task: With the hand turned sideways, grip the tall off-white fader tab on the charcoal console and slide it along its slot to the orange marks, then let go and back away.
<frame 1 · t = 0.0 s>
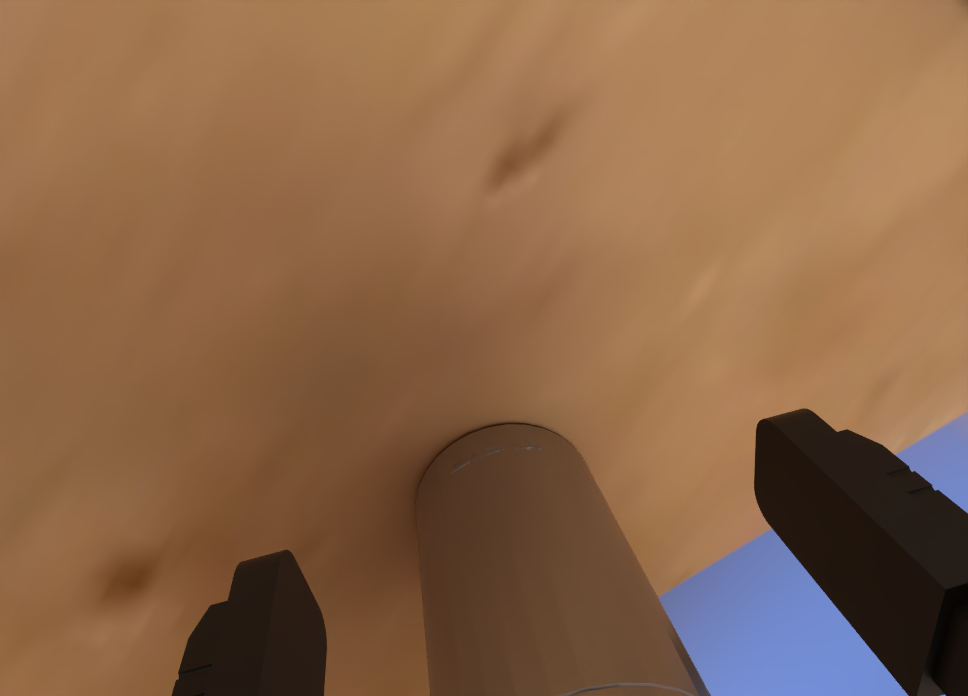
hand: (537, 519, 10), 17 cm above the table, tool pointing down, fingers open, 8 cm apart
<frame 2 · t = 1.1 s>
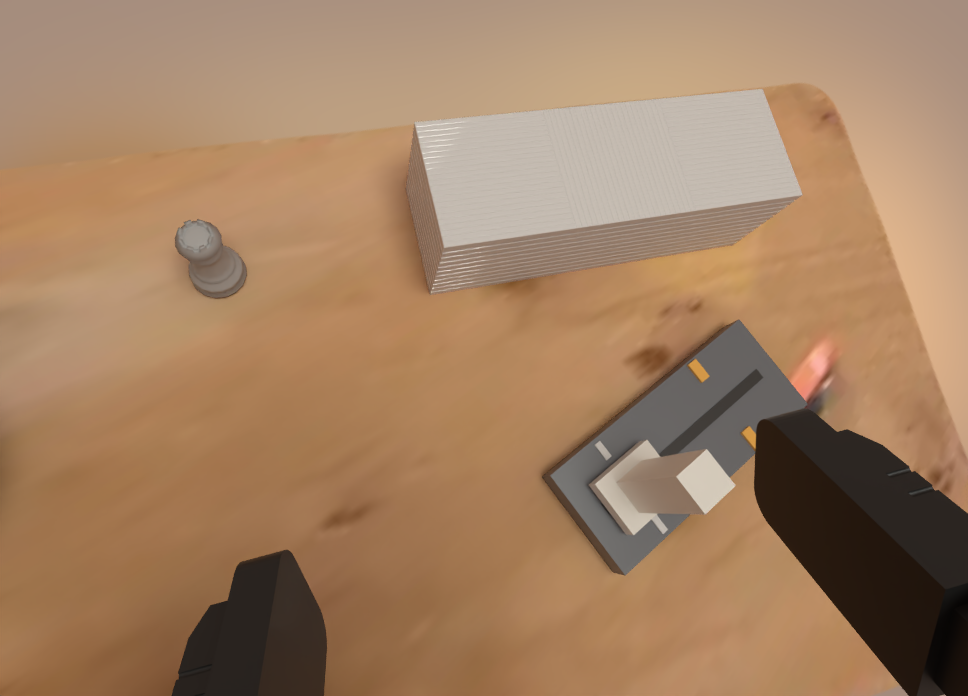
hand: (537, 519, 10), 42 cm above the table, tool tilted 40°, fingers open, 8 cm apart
stack of papers: (575, 220, 60), on the table
fader tab: (665, 484, 45), point 9 cm above the table, slide at 0.0 cm
rook chess piece: (220, 275, 52), on the table
fader console: (672, 440, 56), on the table
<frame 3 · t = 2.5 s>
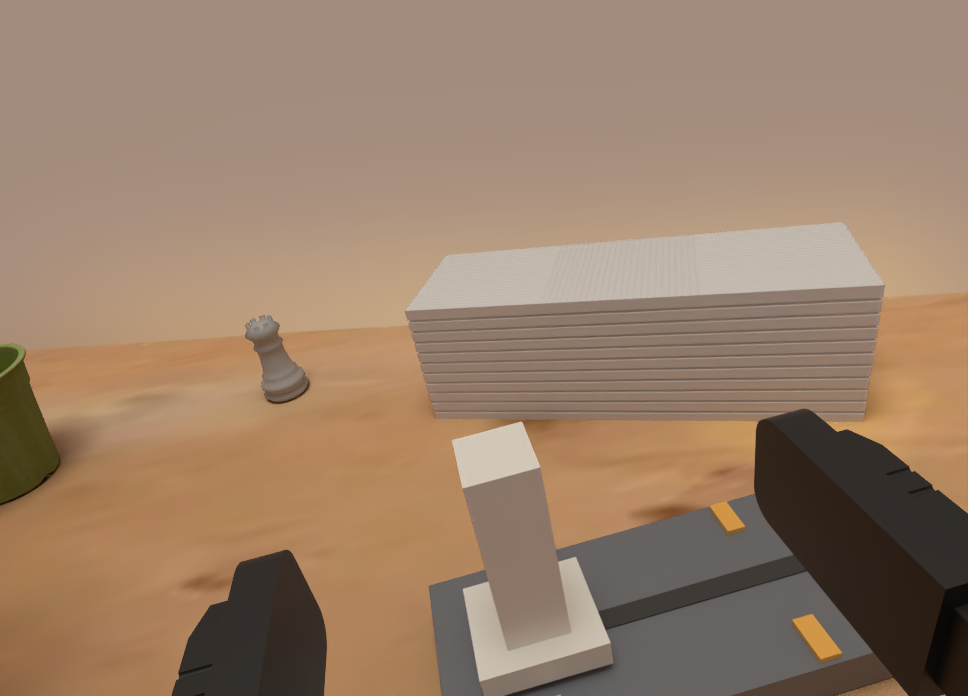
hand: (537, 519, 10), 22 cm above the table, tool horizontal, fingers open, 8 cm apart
stack of papers: (631, 385, 51), on the table
fader tab: (517, 552, 27), point 9 cm above the table, slide at 0.0 cm
plant pot: (21, 480, 56), on the table
rook chess piece: (288, 392, 61), on the table
fader console: (674, 631, 31), on the table
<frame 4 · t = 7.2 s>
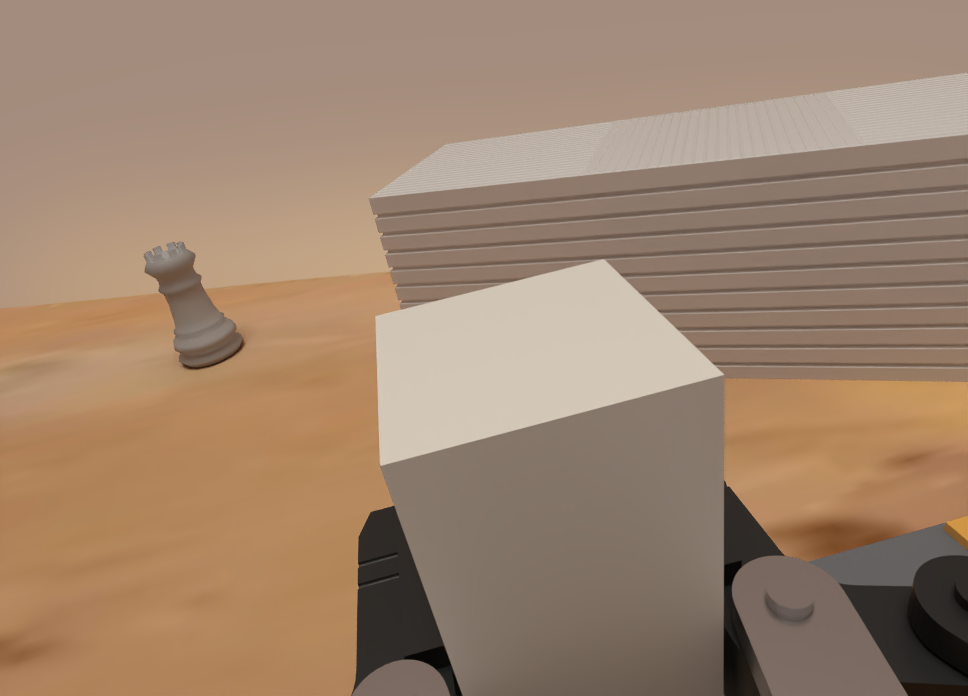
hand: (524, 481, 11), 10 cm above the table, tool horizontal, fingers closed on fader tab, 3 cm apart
stack of papers: (713, 331, 34), on the table
fader tab: (578, 666, 9), point 9 cm above the table, slide at 0.0 cm, touching gripper
rook chess piece: (214, 355, 43), on the table
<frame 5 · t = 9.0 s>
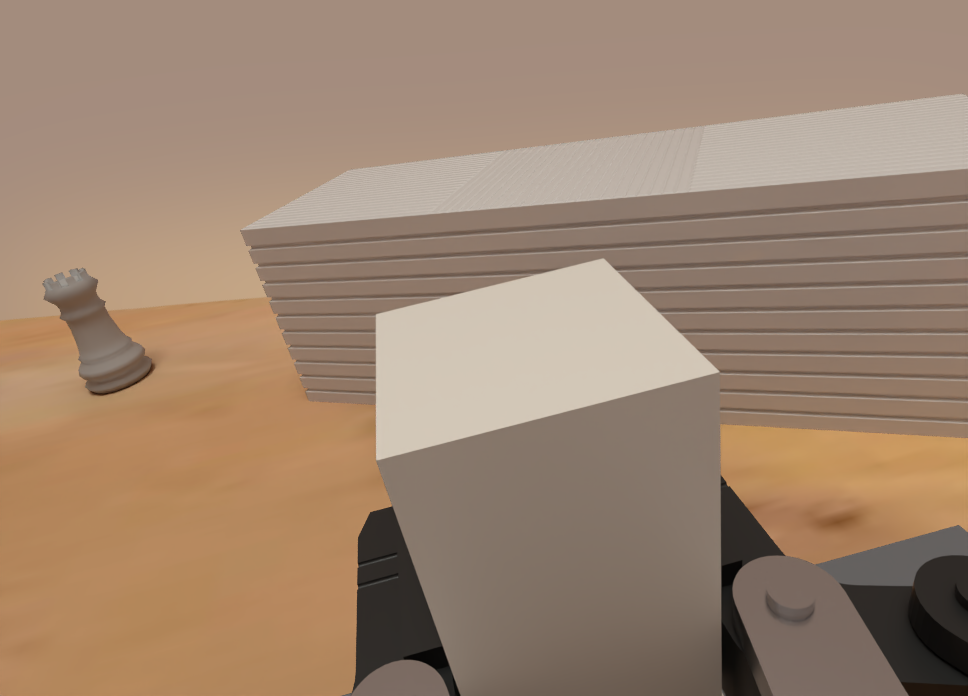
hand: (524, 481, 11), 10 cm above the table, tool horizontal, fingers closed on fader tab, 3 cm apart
stack of papers: (599, 364, 34), on the table
fader tab: (577, 666, 9), point 9 cm above the table, slide at 7.0 cm, touching gripper
rook chess piece: (123, 380, 43), on the table
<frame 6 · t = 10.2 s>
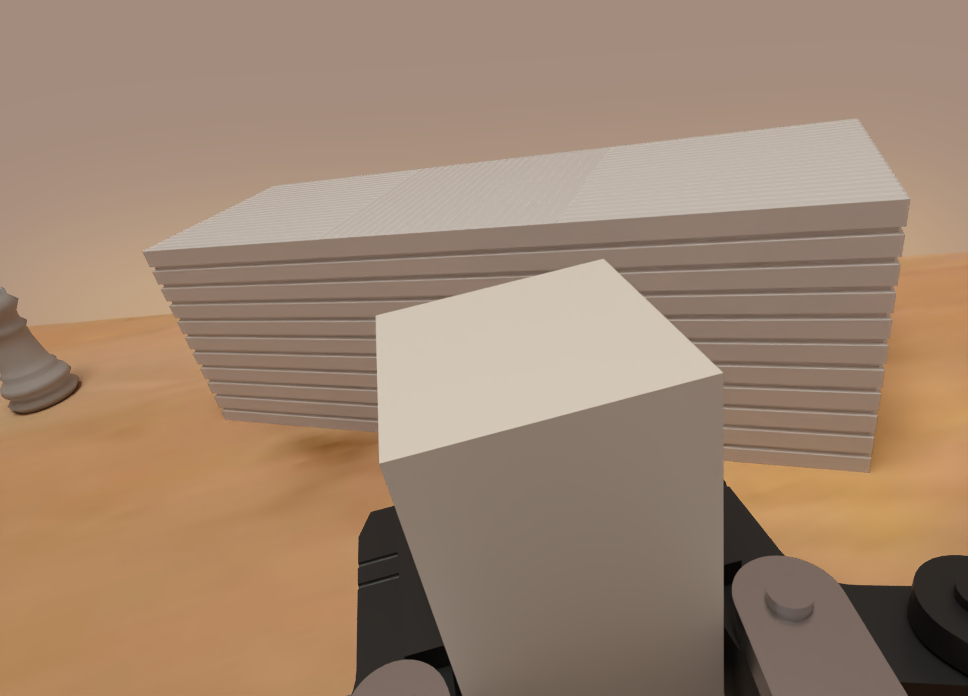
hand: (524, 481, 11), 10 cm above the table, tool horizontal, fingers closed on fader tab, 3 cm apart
stack of papers: (513, 385, 33), on the table
fader tab: (578, 667, 9), point 9 cm above the table, slide at 11.8 cm, touching gripper
rook chess piece: (49, 399, 43), on the table
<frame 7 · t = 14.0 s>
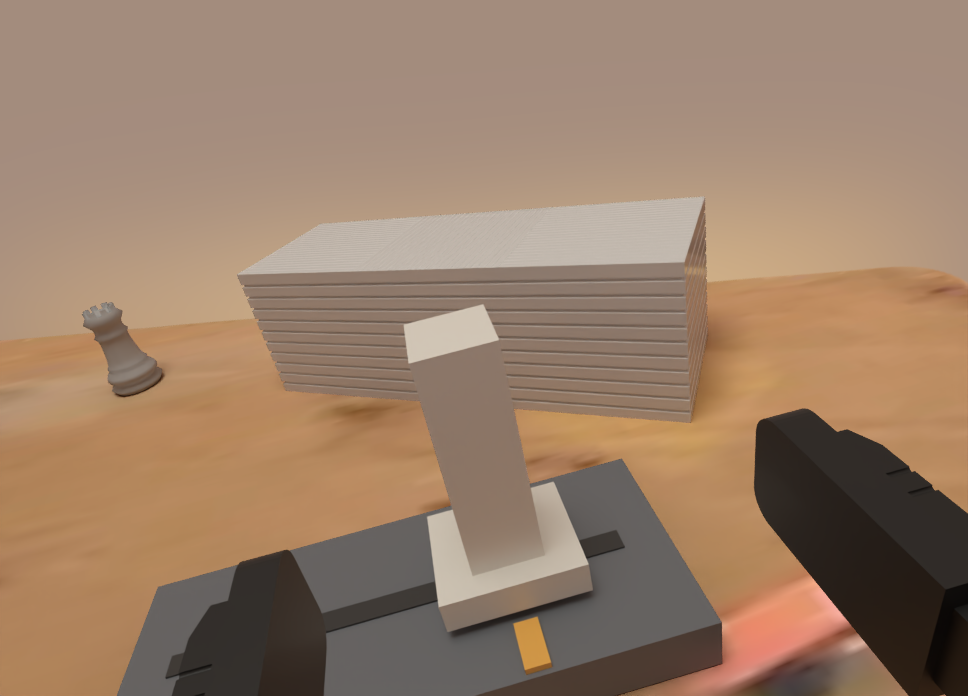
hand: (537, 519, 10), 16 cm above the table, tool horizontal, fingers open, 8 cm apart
stack of papers: (485, 369, 48), on the table
fader tab: (481, 460, 23), point 9 cm above the table, slide at 11.9 cm
rook chess piece: (140, 385, 57), on the table
fader console: (414, 638, 27), on the table
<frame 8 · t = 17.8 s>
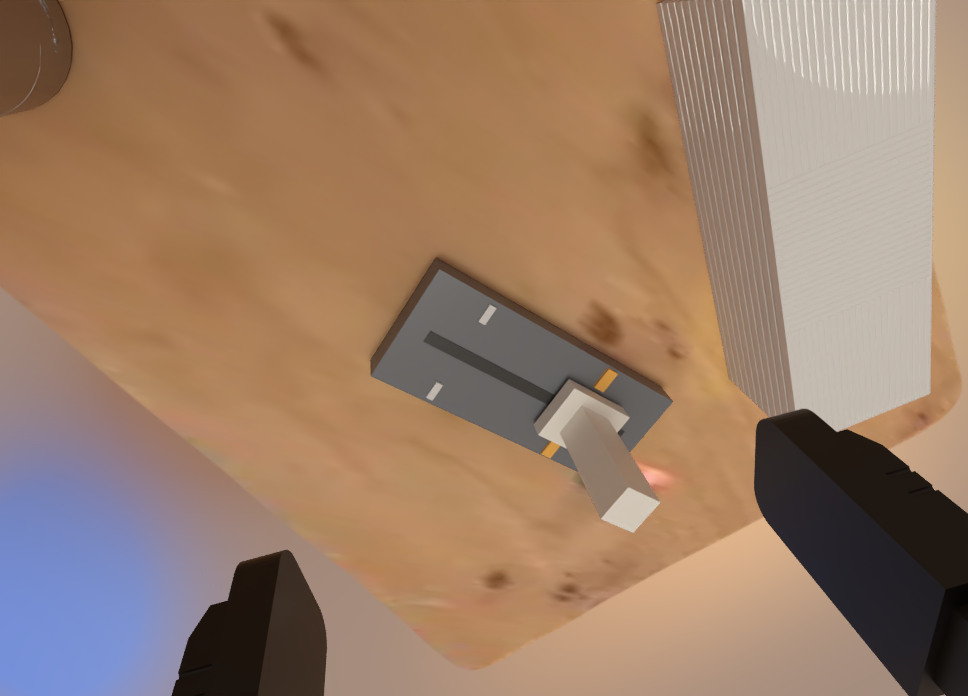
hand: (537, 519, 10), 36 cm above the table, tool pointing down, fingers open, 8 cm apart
stack of papers: (758, 193, 48), on the table
fader tab: (601, 458, 46), point 9 cm above the table, slide at 11.9 cm
fader console: (524, 374, 52), on the table
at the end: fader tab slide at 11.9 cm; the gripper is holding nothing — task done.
